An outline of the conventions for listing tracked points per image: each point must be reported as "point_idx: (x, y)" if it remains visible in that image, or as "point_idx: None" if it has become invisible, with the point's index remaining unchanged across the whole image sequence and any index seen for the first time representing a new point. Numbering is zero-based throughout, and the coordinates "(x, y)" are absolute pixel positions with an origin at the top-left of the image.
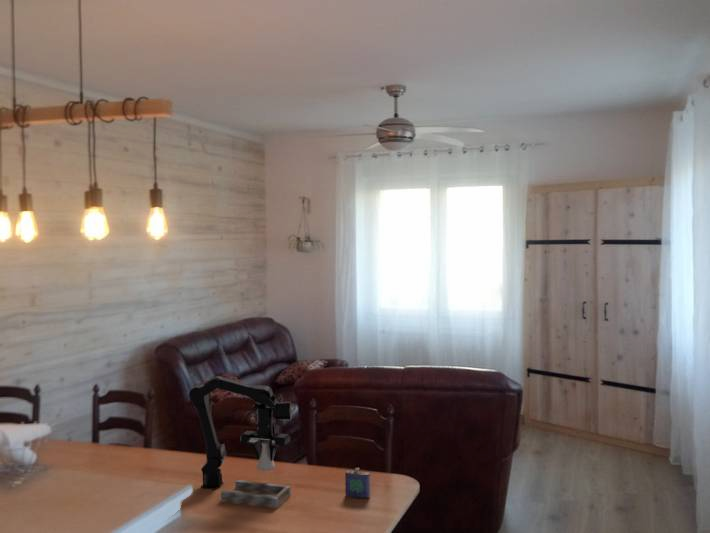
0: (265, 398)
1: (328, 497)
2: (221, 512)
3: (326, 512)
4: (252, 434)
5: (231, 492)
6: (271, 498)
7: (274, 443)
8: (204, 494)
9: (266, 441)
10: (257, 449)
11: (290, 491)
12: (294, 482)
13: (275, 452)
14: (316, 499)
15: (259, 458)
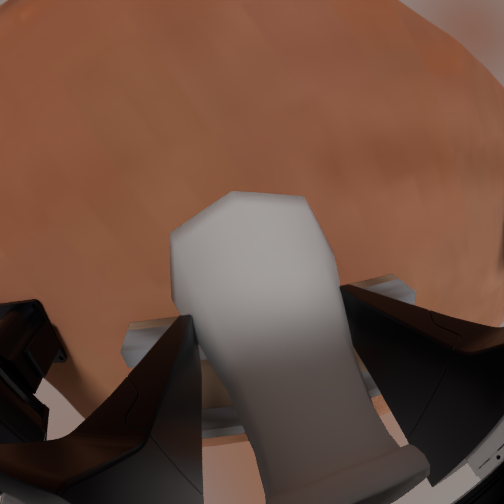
0: None
1: (482, 228)
2: (230, 443)
3: (477, 309)
4: None
5: (209, 433)
6: (374, 396)
7: (493, 450)
8: (78, 391)
9: (354, 498)
10: (194, 457)
11: (402, 282)
12: (355, 127)
13: (421, 310)
14: (461, 257)
15: (196, 343)
